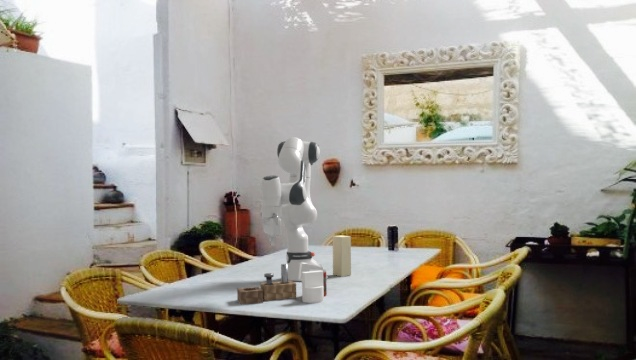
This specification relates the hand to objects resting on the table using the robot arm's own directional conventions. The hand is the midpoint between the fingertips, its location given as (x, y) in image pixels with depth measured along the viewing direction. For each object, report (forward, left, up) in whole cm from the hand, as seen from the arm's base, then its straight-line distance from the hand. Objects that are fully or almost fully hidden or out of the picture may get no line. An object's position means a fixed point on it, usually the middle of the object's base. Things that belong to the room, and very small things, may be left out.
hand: (272, 245), depth 227 cm
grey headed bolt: (+2, 0, -20) cm, 21 cm away
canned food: (-19, +3, -23) cm, 30 cm away
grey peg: (-5, 0, -23) cm, 23 cm away
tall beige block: (-48, -42, -23) cm, 68 cm away
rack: (+11, +3, -23) cm, 25 cm away
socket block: (-2, 0, -23) cm, 23 cm away
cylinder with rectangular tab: (-14, +12, -23) cm, 30 cm away
